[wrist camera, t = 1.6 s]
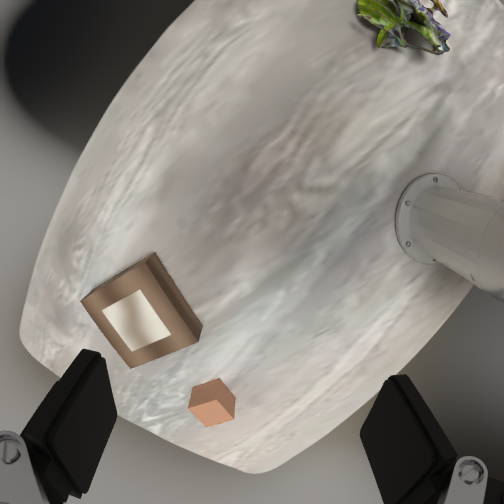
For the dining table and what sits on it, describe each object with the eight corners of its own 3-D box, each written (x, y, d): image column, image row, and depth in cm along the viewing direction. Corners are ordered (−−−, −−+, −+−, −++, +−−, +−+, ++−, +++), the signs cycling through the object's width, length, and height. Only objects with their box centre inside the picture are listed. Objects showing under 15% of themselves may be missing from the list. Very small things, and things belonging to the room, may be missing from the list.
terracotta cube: (219, 377, 43) (216, 399, 38) (235, 397, 44) (234, 419, 40) (192, 386, 44) (187, 408, 39) (209, 405, 45) (206, 427, 40)
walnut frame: (155, 252, 37) (144, 263, 33) (202, 325, 40) (198, 342, 36) (93, 289, 39) (79, 301, 35) (138, 353, 42) (130, 369, 38)
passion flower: (395, 36, 33) (464, 44, 24) (368, 73, 33) (446, 85, 25) (364, -22, 25) (440, -26, 16) (330, 8, 25) (419, 3, 17)
